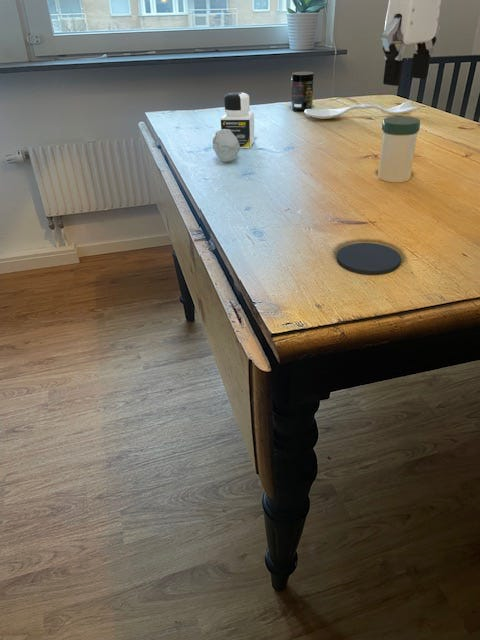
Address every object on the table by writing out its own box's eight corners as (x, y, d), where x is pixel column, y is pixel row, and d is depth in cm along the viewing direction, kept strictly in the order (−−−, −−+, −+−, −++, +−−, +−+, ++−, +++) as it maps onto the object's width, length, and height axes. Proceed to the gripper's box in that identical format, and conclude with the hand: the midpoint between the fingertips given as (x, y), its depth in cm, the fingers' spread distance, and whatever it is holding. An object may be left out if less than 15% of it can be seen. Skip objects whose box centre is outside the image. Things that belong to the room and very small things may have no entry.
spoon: (419, 118, 142) (421, 105, 140) (305, 122, 143) (306, 110, 141) (410, 111, 149) (412, 99, 147) (302, 115, 150) (303, 103, 148)
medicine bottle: (222, 148, 124) (218, 96, 118) (227, 140, 130) (225, 90, 124) (250, 148, 123) (248, 96, 116) (254, 141, 129) (253, 90, 122)
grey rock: (231, 155, 119) (230, 124, 115) (245, 162, 114) (244, 130, 110) (208, 160, 117) (206, 128, 113) (222, 167, 112) (220, 135, 108)
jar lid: (414, 125, 99) (415, 115, 98) (423, 134, 93) (424, 123, 92) (378, 126, 99) (379, 116, 98) (385, 135, 94) (386, 125, 93)
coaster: (393, 245, 76) (393, 241, 75) (406, 274, 68) (407, 270, 68) (333, 246, 76) (333, 243, 76) (340, 275, 69) (340, 271, 69)
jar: (406, 171, 104) (414, 118, 98) (413, 182, 99) (422, 126, 93) (375, 172, 104) (381, 119, 98) (380, 182, 99) (387, 127, 93)
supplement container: (315, 107, 159) (316, 71, 153) (308, 112, 154) (310, 75, 148) (295, 107, 162) (295, 71, 156) (288, 111, 156) (288, 74, 151)
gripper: (429, -36, 89) (413, 73, 99) (370, -34, 79) (359, 86, 89) (469, -38, 84) (448, 76, 94) (412, -36, 75) (395, 91, 85)
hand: (405, 80), depth 92 cm, fingers open, 8 cm apart
